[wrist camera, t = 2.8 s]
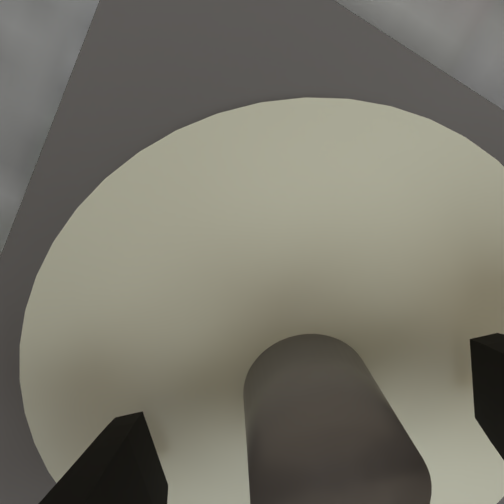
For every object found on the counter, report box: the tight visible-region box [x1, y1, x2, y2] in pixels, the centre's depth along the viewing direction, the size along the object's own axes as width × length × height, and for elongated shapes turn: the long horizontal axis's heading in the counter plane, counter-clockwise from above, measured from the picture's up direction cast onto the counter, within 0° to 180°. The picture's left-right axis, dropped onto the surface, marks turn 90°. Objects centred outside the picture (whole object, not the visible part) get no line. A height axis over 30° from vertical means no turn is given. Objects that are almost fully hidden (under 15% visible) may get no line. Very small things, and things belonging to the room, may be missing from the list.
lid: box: [20, 97, 504, 504], centre depth 8 cm, size 13×13×4 cm
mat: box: [0, 0, 504, 504], centre depth 10 cm, size 15×15×1 cm
